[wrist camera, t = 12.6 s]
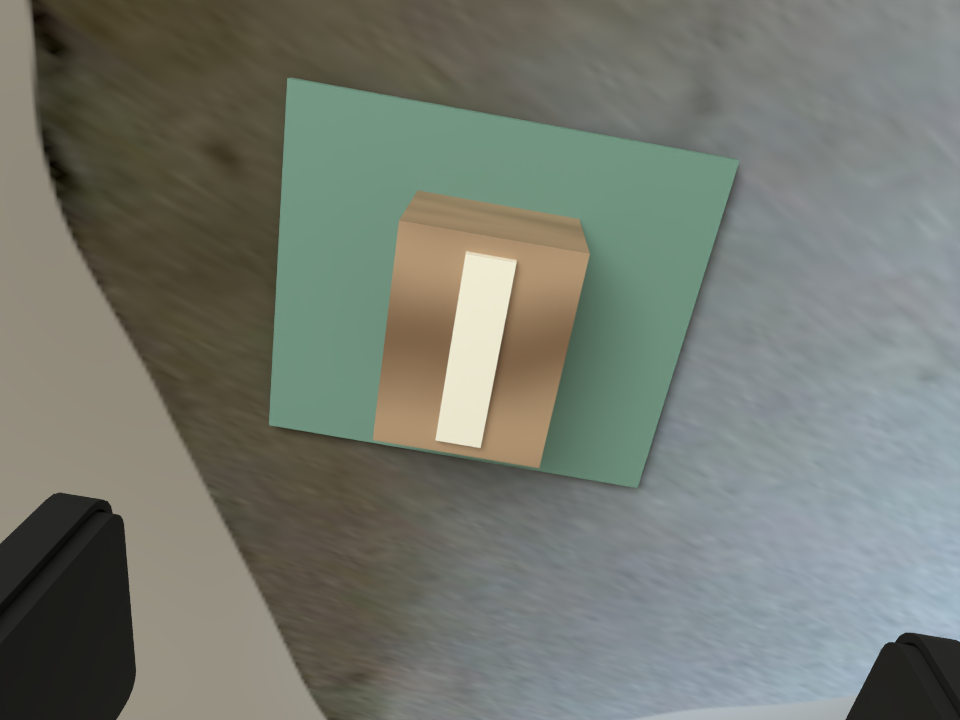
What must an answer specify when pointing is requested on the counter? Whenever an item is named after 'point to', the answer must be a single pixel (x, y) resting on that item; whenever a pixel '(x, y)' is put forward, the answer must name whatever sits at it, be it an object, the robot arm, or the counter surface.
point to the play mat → (504, 181)
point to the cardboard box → (478, 327)
